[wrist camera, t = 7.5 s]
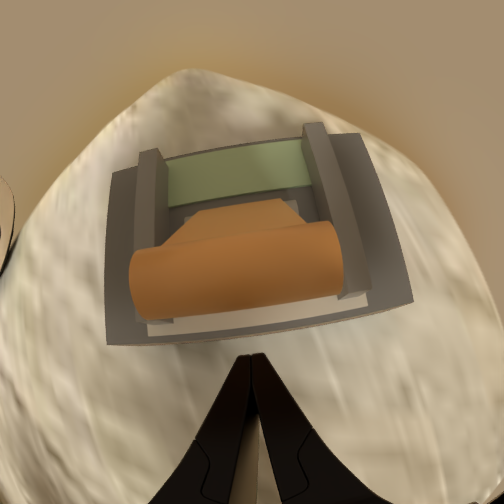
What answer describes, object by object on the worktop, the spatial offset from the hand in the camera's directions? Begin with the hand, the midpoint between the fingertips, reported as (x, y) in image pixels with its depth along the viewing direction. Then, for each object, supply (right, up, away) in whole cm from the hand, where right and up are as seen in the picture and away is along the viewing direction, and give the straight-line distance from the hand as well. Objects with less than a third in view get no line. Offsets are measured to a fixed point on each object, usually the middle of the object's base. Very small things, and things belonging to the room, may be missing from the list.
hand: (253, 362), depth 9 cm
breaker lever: (-1, +5, +7) cm, 8 cm away
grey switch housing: (0, +4, +12) cm, 13 cm away
